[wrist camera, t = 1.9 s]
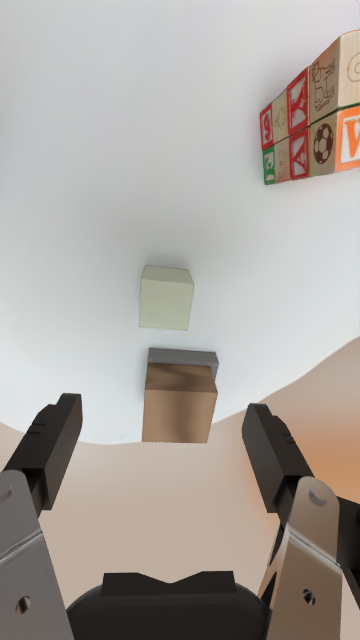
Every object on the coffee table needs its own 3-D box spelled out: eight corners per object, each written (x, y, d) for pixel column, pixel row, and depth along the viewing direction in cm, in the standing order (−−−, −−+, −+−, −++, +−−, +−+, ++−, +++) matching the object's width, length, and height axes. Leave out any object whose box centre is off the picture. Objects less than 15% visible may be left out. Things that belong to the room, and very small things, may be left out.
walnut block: (144, 410, 34) (141, 441, 30) (147, 362, 31) (144, 389, 27) (201, 412, 35) (206, 443, 31) (210, 366, 32) (217, 392, 27)
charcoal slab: (145, 397, 37) (144, 412, 35) (149, 345, 34) (148, 358, 31) (204, 400, 38) (207, 415, 36) (214, 350, 35) (218, 363, 32)
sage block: (143, 305, 31) (138, 327, 25) (145, 265, 29) (141, 279, 23) (183, 309, 31) (187, 330, 26) (188, 269, 29) (193, 284, 24)
